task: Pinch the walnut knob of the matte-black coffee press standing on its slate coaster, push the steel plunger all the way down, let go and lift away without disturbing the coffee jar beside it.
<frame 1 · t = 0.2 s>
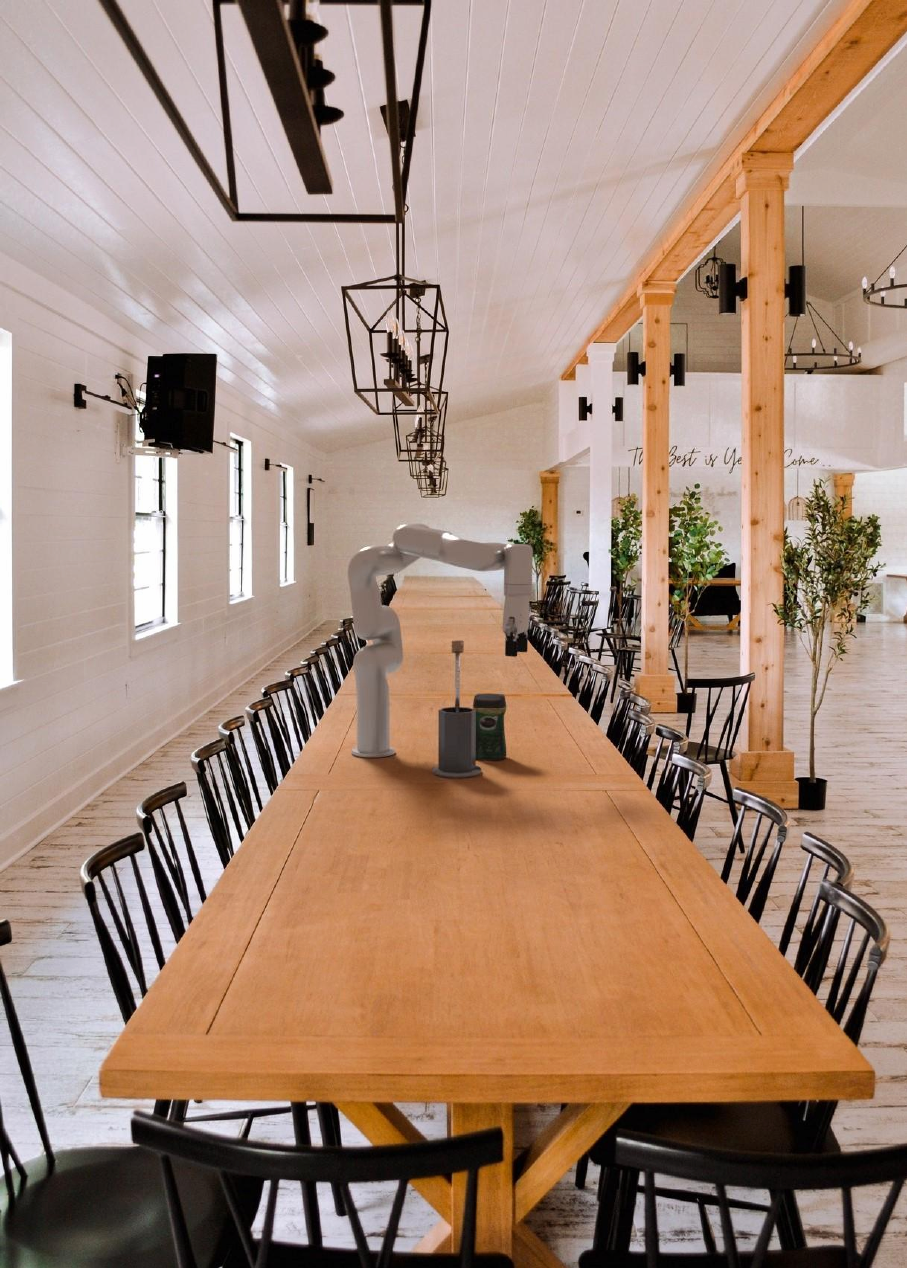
hand: (516, 654, 279), 32 cm above the table, tool pointing down, fingers open, 9 cm apart
coffee jar: (489, 758, 296), on the table
press carafe: (457, 772, 278), on the table
plunger: (457, 682, 276), point 24 cm above the table, slide at 12.0 cm
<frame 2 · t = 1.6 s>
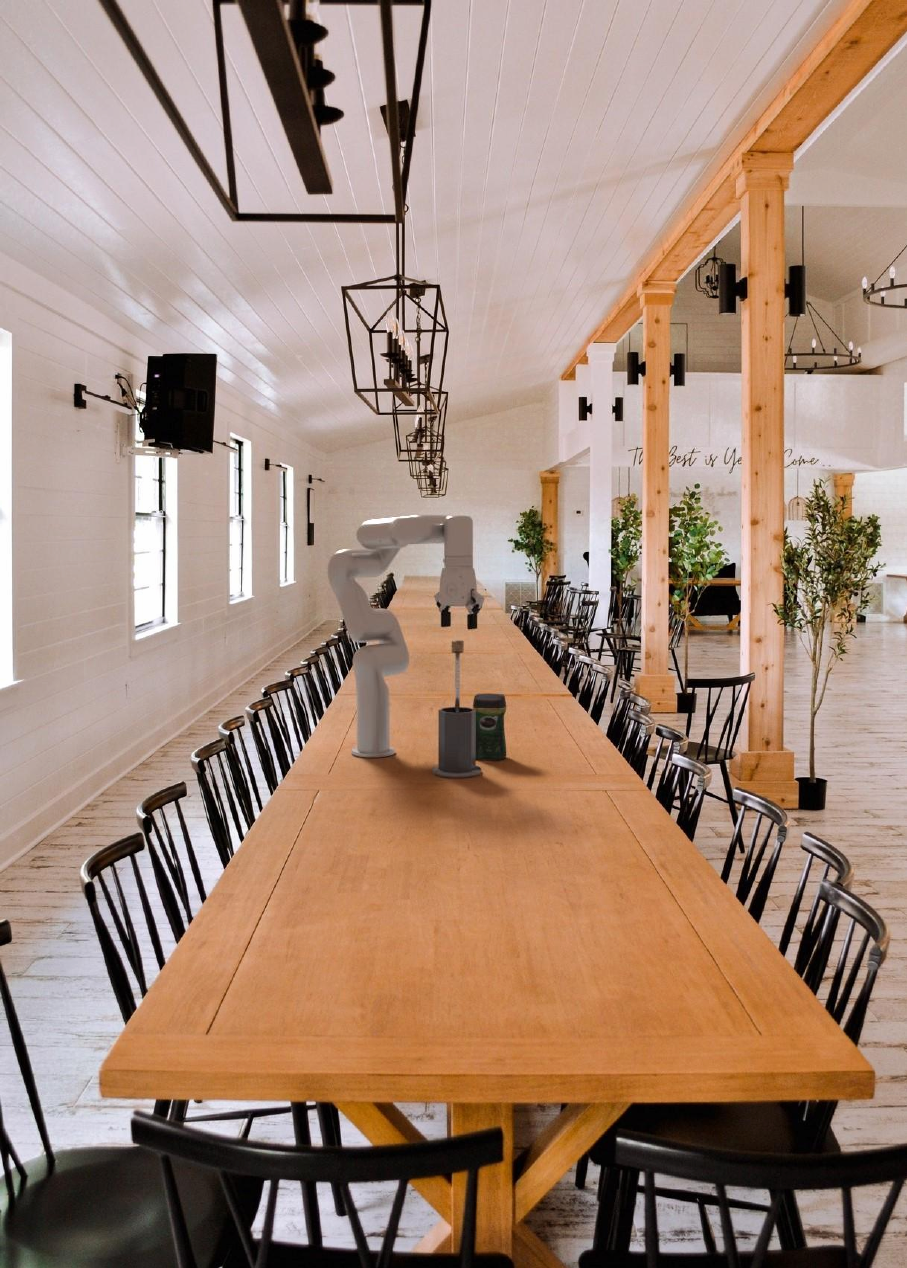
hand: (458, 627, 274), 39 cm above the table, tool pointing down, fingers open, 9 cm apart
nothing on the table moved.
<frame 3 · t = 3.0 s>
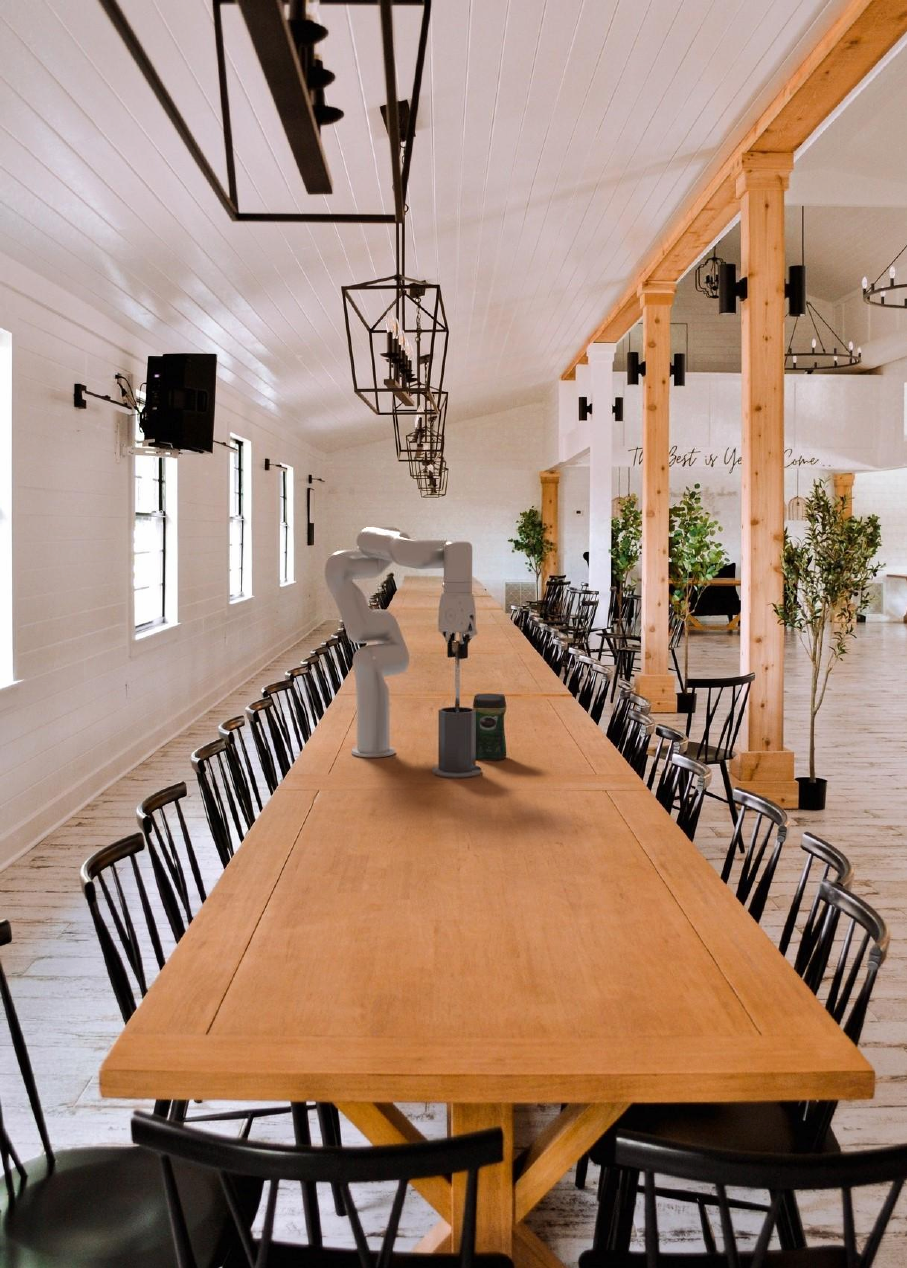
hand: (457, 657, 275), 31 cm above the table, tool pointing down, fingers closed on plunger, 3 cm apart
plunger: (457, 682, 276), point 24 cm above the table, slide at 12.0 cm, touching gripper
everything else where it was.
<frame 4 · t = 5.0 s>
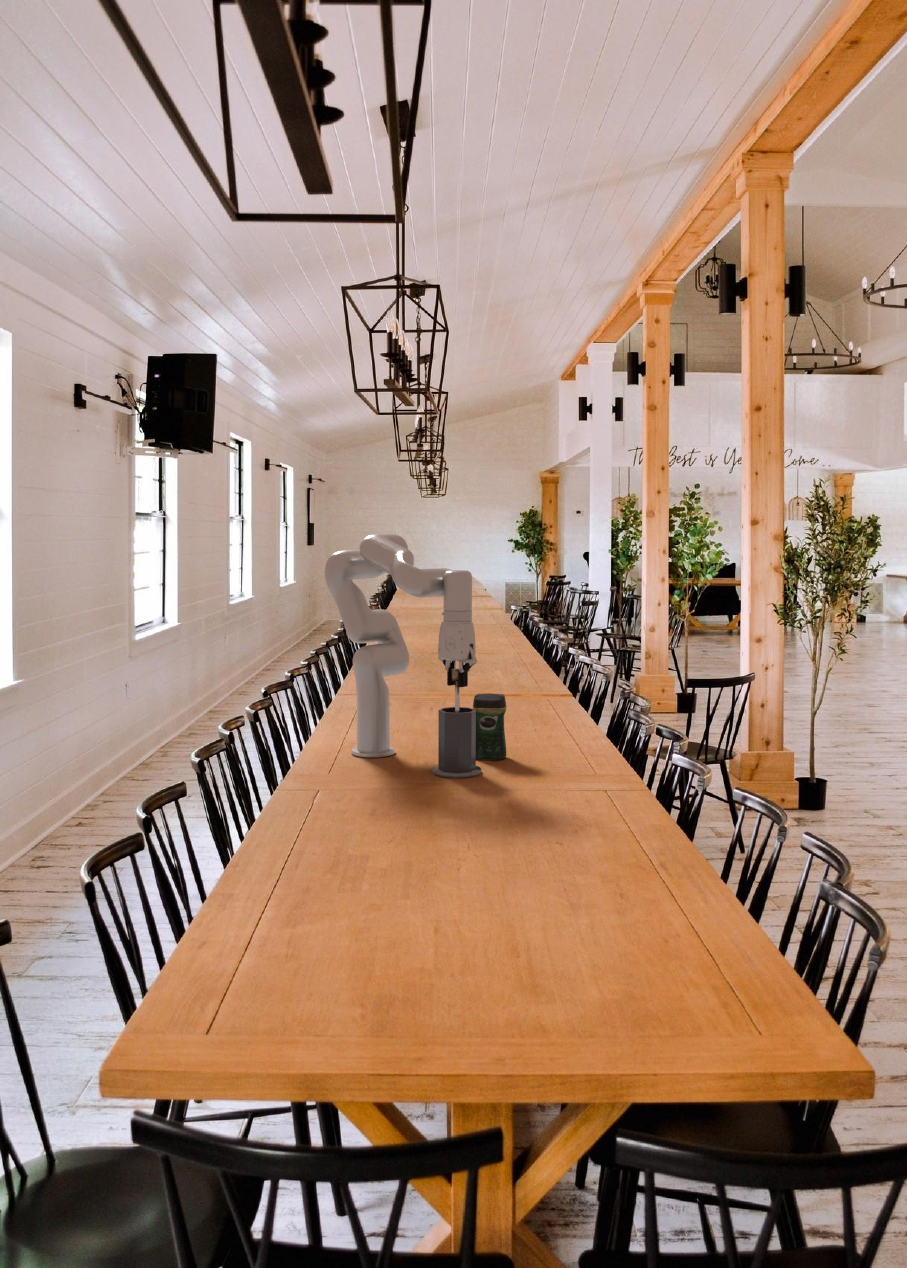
hand: (457, 685, 276), 24 cm above the table, tool pointing down, fingers closed on plunger, 3 cm apart
plunger: (457, 710, 277), point 17 cm above the table, slide at 4.4 cm, touching gripper
everything else where it was.
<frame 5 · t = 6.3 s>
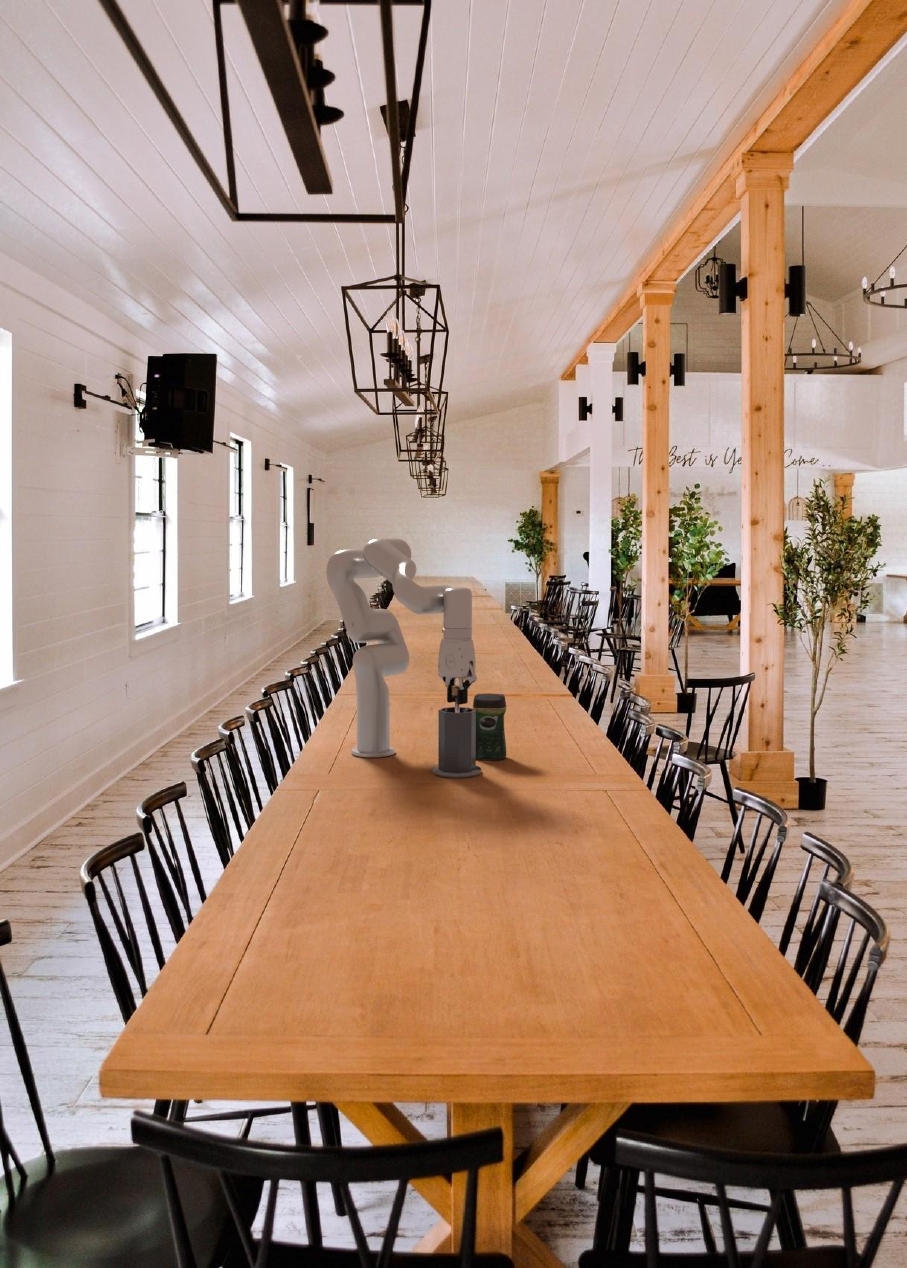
hand: (457, 702, 276), 19 cm above the table, tool pointing down, fingers closed on plunger, 3 cm apart
plunger: (457, 727, 277), point 12 cm above the table, slide at -0.1 cm, touching gripper
everything else where it was.
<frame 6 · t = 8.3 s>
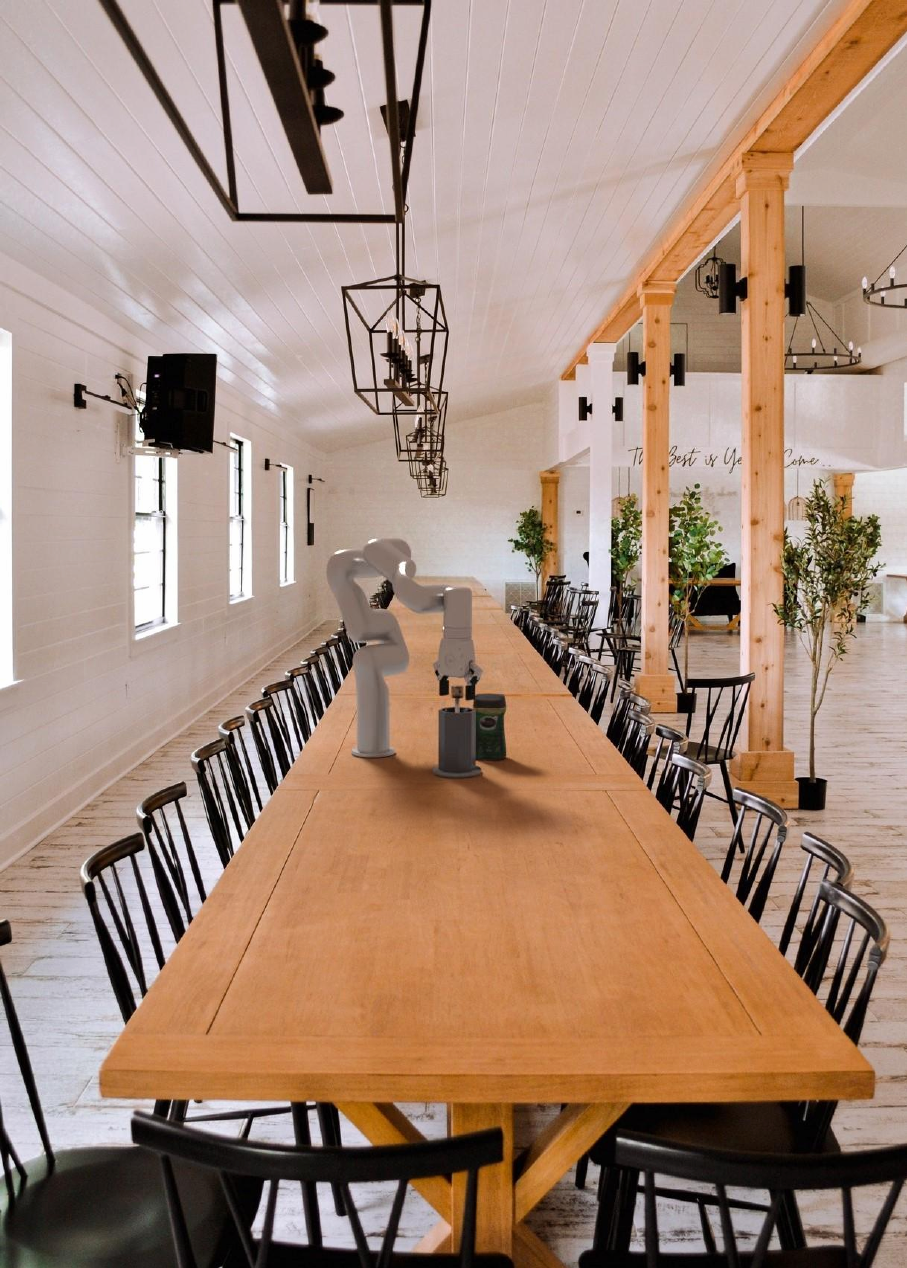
hand: (457, 697, 276), 20 cm above the table, tool pointing down, fingers open, 9 cm apart
plunger: (457, 727, 277), point 12 cm above the table, slide at -0.1 cm
everything else where it was.
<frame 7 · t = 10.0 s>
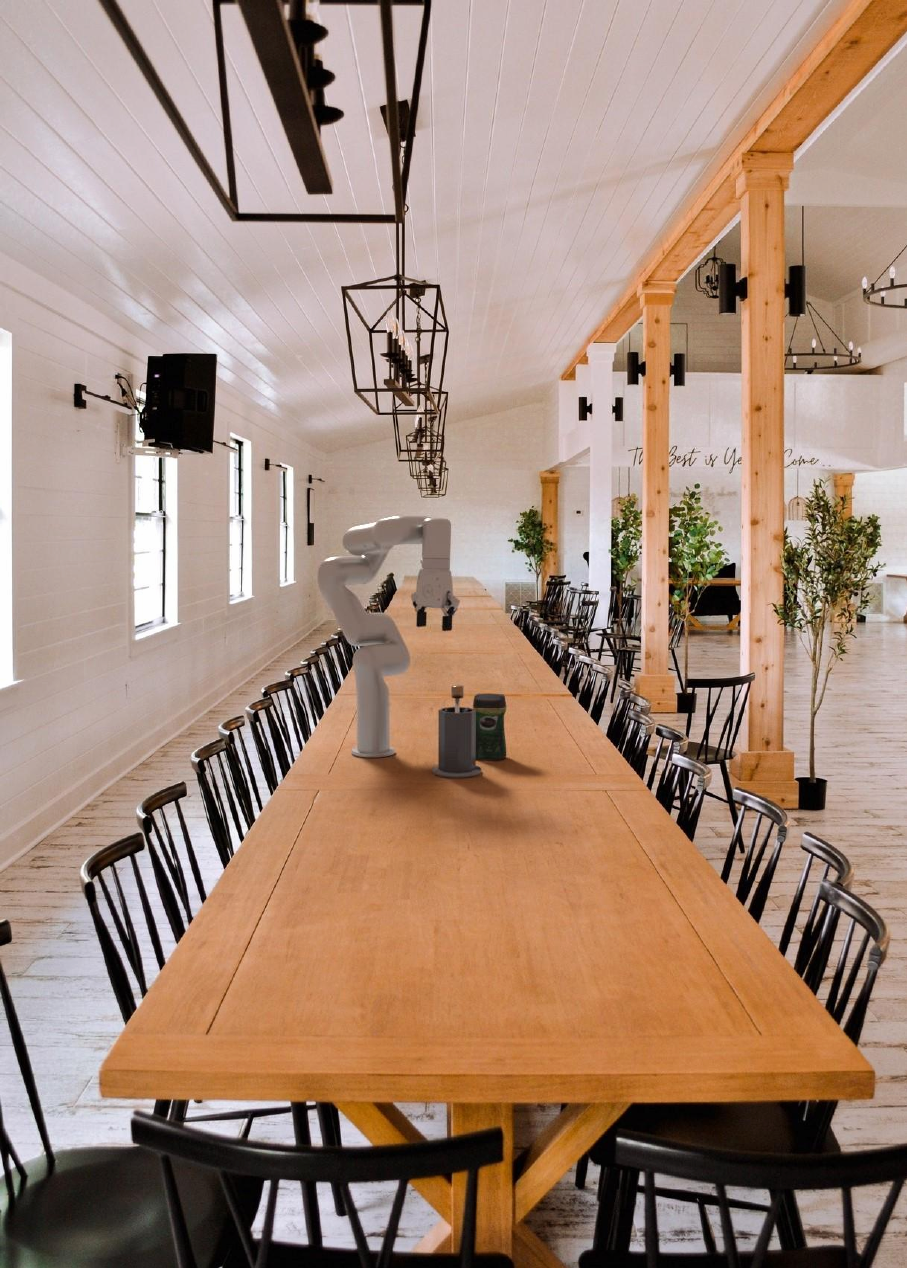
hand: (434, 628, 279), 38 cm above the table, tool pointing down, fingers open, 9 cm apart
nothing on the table moved.
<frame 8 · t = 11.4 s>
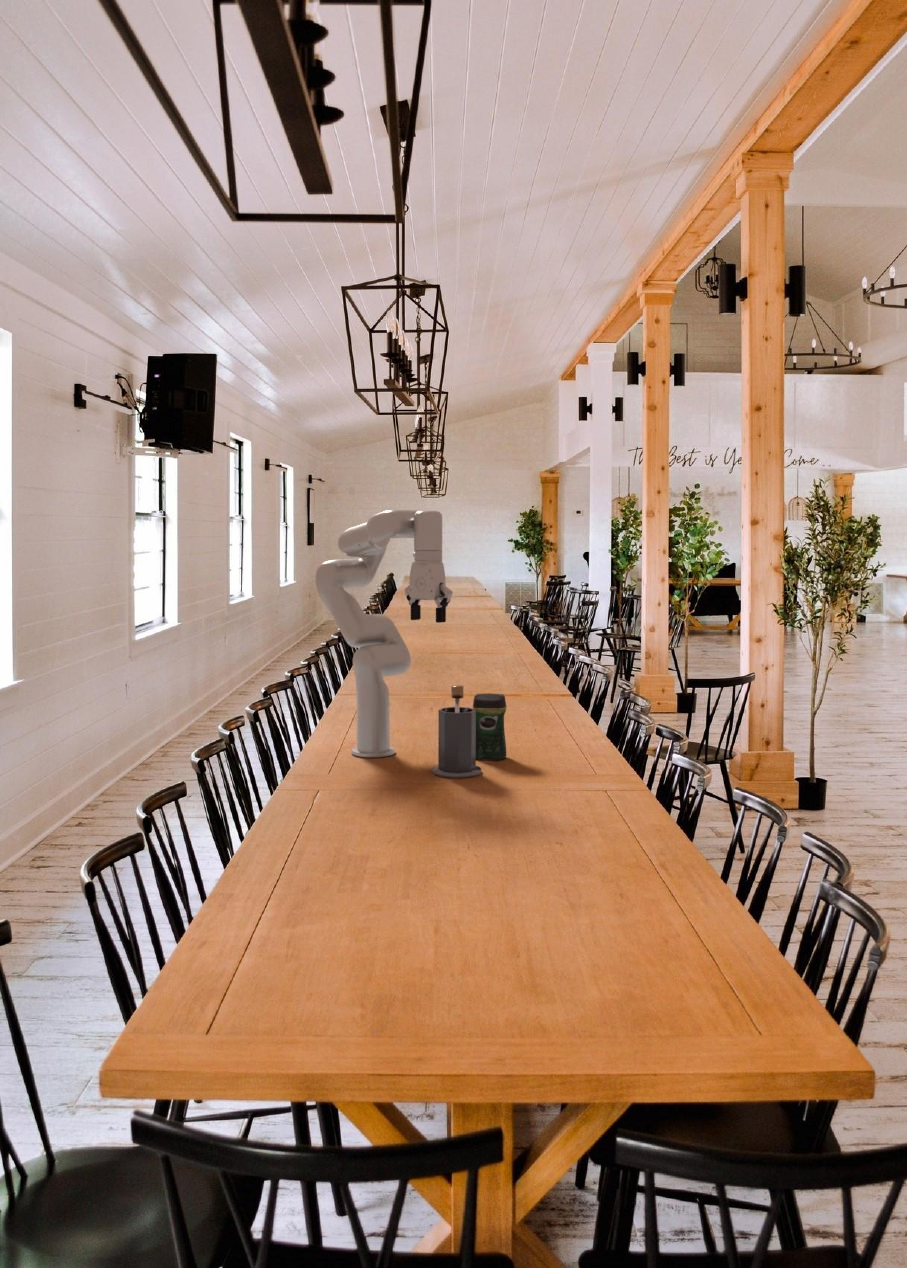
hand: (428, 621, 279), 40 cm above the table, tool pointing down, fingers open, 9 cm apart
nothing on the table moved.
at the end: plunger slide at -0.1 cm; the gripper is holding nothing; coffee jar moved 0.2 cm from its start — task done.
